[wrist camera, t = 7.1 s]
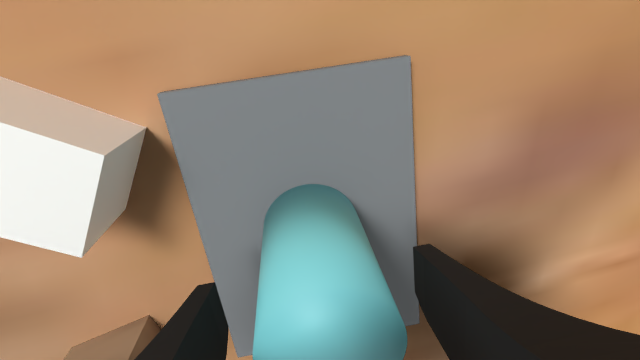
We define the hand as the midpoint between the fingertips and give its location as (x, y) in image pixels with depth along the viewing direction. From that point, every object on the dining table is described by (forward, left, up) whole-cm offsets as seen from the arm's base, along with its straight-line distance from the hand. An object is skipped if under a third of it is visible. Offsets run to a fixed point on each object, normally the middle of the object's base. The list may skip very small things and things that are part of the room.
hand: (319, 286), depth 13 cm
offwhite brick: (+6, +10, -5) cm, 13 cm away
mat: (0, 0, -5) cm, 5 cm away
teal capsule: (0, 0, -4) cm, 4 cm away
